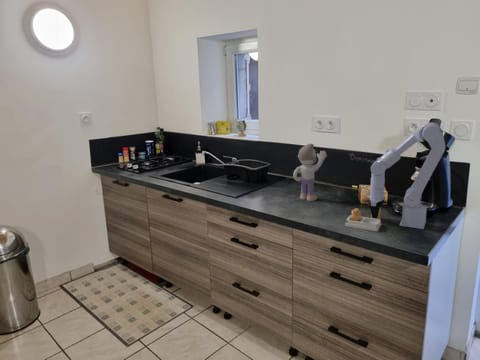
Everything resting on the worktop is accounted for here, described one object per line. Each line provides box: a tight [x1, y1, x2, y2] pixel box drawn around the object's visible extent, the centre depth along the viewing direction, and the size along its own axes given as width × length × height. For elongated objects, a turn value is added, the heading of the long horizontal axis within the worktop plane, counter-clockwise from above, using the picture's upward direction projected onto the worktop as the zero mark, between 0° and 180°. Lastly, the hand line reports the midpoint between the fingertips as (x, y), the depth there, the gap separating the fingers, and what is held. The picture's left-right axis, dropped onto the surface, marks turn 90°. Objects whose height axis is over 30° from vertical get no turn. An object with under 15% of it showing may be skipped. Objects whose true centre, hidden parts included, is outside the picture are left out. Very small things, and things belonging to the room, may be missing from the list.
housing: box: [344, 207, 382, 232], centre depth 159 cm, size 14×8×7 cm, turn 60°
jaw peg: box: [370, 207, 382, 219], centre depth 165 cm, size 5×4×7 cm
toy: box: [292, 143, 328, 202], centre depth 193 cm, size 18×9×30 cm, turn 47°
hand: (375, 216), depth 165 cm, fingers closed on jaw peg, 4 cm apart
